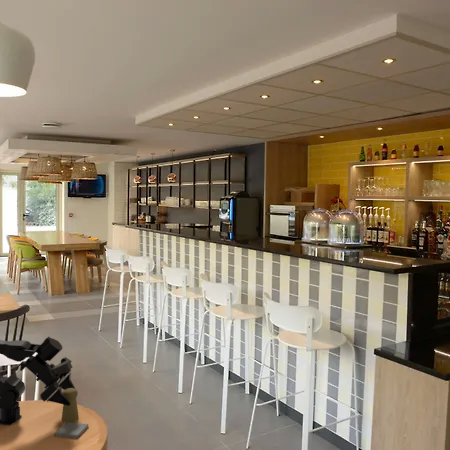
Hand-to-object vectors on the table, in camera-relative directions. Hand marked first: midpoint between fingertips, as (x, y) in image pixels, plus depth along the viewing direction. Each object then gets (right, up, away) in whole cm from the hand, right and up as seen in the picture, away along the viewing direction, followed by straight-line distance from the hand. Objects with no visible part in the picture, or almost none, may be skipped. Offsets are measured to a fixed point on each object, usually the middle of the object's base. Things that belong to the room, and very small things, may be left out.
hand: (73, 399), depth 165 cm
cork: (-1, -8, 0) cm, 8 cm away
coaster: (+2, -8, -8) cm, 12 cm away
